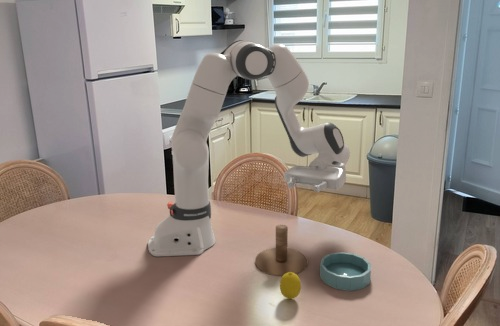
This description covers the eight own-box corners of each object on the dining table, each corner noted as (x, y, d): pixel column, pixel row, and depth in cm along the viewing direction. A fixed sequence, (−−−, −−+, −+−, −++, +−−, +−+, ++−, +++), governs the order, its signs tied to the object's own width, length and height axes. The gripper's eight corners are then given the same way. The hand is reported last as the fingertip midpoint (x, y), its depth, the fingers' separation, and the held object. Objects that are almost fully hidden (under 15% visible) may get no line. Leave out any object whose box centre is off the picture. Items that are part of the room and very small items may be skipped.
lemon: (299, 306, 114) (300, 279, 112) (278, 303, 115) (278, 276, 113) (301, 294, 119) (302, 267, 117) (281, 291, 120) (281, 266, 118)
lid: (263, 280, 126) (263, 242, 123) (249, 254, 141) (249, 219, 138) (315, 272, 130) (316, 235, 127) (296, 247, 145) (297, 214, 142)
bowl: (333, 293, 119) (333, 280, 118) (313, 268, 132) (313, 256, 131) (379, 285, 122) (380, 273, 121) (355, 261, 135) (356, 249, 134)
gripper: (294, 158, 154) (273, 175, 144) (349, 164, 142) (330, 182, 132) (296, 174, 156) (276, 192, 146) (350, 181, 145) (332, 201, 135)
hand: (302, 187), depth 139 cm, fingers open, 8 cm apart
